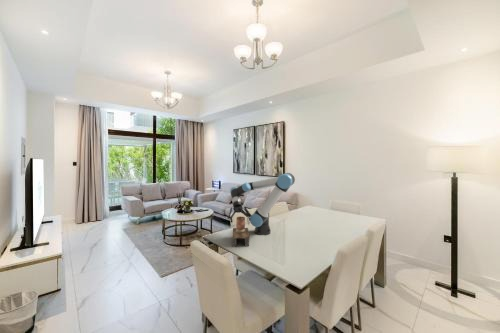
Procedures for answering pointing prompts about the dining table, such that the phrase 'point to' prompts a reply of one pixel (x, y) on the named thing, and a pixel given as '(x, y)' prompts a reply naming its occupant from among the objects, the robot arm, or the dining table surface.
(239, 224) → the cord reel
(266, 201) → the robot arm
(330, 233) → the dining table surface
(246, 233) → the bridge shelf
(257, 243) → the dining table surface
